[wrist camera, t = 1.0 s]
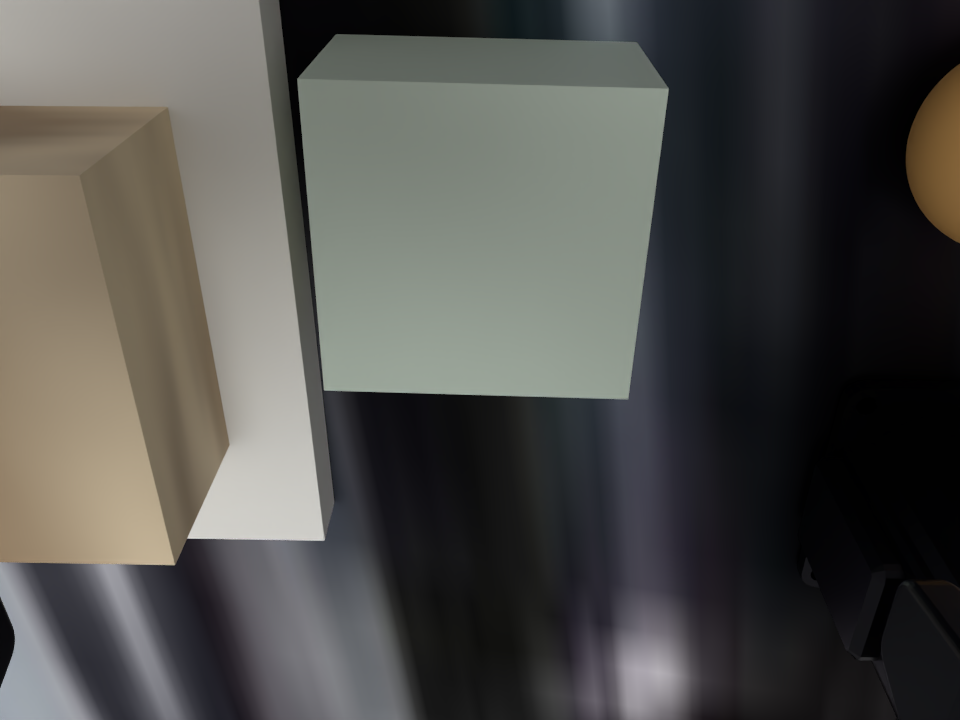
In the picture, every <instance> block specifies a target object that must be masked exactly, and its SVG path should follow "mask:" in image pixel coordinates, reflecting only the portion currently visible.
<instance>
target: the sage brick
mask: <svg viewBox="0 0 960 720" xmlns="http://www.w3.org/2000/svg"><path fill="white" fill-rule="evenodd" d="M297 83H298V95H299V107H300V118H301V130H302V141H303V153H304V164H305V176H306V188H307V199H308V211H309V222H310V234H311V246H312V257H313V269H314V280H315V292H316V303H317V315H318V327H319V338H320V350H321V361H322V373H323V385H324V390H326V391H360V392H394V393H429V394H463V395H497V396H531V397H566V398H600V399H628V396H629V389H630V381H631V373H632V366H633V358H634V350H635V343H636V335H637V328H638V320H639V312H640V305H641V297H642V289H643V282H644V274H645V267H646V259H647V251H648V244H649V236H650V228H651V221H652V213H653V206H654V198H655V190H656V183H657V175H658V167H659V160H660V152H661V145H662V137H663V129H664V122H665V114H666V106H667V99H668V91H669V88H668V87H667V85H666V84H665V82H664V81H663V80H662V78H661V77H660V75H659V74H658V72H657V71H656V69H655V68H654V66H653V65H652V63H651V62H650V61H649V59H648V58H647V56H646V55H645V53H644V52H643V50H642V49H641V47H640V46H639V44H638V43H637V42H615V41H577V40H539V39H501V38H463V37H424V36H386V35H348V34H336V35H335V36H334V37H333V38H332V39H331V41H330V42H329V43H328V44H327V45H326V46H325V47H324V49H323V50H322V51H321V52H320V53H319V54H318V56H317V57H316V58H315V59H314V60H313V61H312V62H311V64H310V65H309V66H308V67H307V68H306V69H305V70H304V72H303V73H302V74H301V75H300V76H299V77H298V78H297Z"/></svg>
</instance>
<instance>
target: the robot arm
mask: <svg viewBox="0 0 960 720" xmlns="http://www.w3.org/2000/svg"><path fill="white" fill-rule="evenodd" d="M869 397H870V398H871V399H870V401H869V402H868V403H867V404H865V405H862V406H856V405H857V404H858V402H859V401H861V400H862V399H864V398H869ZM798 538H799V541H800V543H801V545H802V547H801V551H800V555H799V559H798V563H797V568H798V571H799V573H800V576H801V578H802V580H803V581H804V583H805V584H807V585H809V586H812V587H819V588H820V590H821V592H822V595H823V597H824V599H825V602H826V604H827V606H828V609H829V611H830V613H831V616H832V618H833V620H834V623H835V625H836V627H837V630H838V632H839V634H840V637H841V639H842V641H843V644H844V646H845V648H846V650H847V651H848V652H849V653H850V654H851V655H852V656H853V657H854V658H855V659H856V660H871V662H872V664H873V666H874V668H875V670H876V673H877V675H878V677H879V679H880V681H881V684H882V686H883V688H884V690H885V692H886V695H887V697H888V699H889V701H890V703H891V706H892V708H893V710H894V712H895V715H896V717H897V719H896V720H960V381H908V380H862V381H857V382H855V383H852V384H850V385H849V386H848V387H847V388H846V389H845V390H844V391H843V393H842V395H841V397H840V400H839V404H838V408H837V412H836V416H835V419H834V423H833V427H832V431H831V435H830V439H829V443H828V447H827V450H826V454H825V456H824V457H822V458H821V459H820V460H819V461H818V462H817V463H816V464H815V467H814V471H813V475H812V479H811V483H810V487H809V491H808V495H807V499H806V503H805V507H804V511H803V515H802V519H801V523H800V527H799V531H798ZM14 644H15V636H14V629H13V626H12V624H11V621H10V619H9V617H8V614H7V612H6V610H5V607H4V605H3V602H2V600H1V598H0V687H1V684H2V682H3V679H4V676H5V674H6V671H7V668H8V665H9V663H10V660H11V657H12V654H13V650H14Z"/></svg>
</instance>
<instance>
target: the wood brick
mask: <svg viewBox="0 0 960 720" xmlns="http://www.w3.org/2000/svg"><path fill="white" fill-rule="evenodd" d="M229 445H230V444H229V439H228V433H227V428H226V422H225V417H224V411H223V406H222V400H221V395H220V390H219V384H218V379H217V373H216V368H215V362H214V357H213V351H212V346H211V340H210V335H209V329H208V324H207V319H206V313H205V308H204V302H203V297H202V291H201V286H200V280H199V275H198V269H197V264H196V258H195V253H194V248H193V242H192V237H191V231H190V226H189V220H188V215H187V209H186V204H185V198H184V193H183V187H182V182H181V177H180V171H179V166H178V160H177V155H176V149H175V144H174V138H173V133H172V127H171V122H170V116H169V111H168V107H109V106H0V562H26V563H85V564H144V565H175V564H176V562H177V559H178V557H179V555H180V553H181V551H182V548H183V546H184V544H185V542H186V540H187V537H188V535H189V533H190V531H191V529H192V526H193V524H194V522H195V520H196V518H197V516H198V513H199V511H200V509H201V507H202V505H203V502H204V500H205V498H206V496H207V494H208V491H209V489H210V487H211V485H212V483H213V480H214V478H215V476H216V474H217V472H218V469H219V467H220V465H221V463H222V461H223V458H224V456H225V454H226V452H227V450H228V448H229Z"/></svg>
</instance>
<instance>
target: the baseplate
mask: <svg viewBox="0 0 960 720" xmlns="http://www.w3.org/2000/svg"><path fill="white" fill-rule="evenodd" d="M0 106H109V107H168V111H169V116H170V122H171V127H172V133H173V138H174V144H175V149H176V155H177V160H178V166H179V171H180V177H181V182H182V187H183V193H184V198H185V204H186V209H187V215H188V220H189V226H190V231H191V237H192V242H193V248H194V253H195V258H196V264H197V269H198V275H199V280H200V286H201V291H202V297H203V302H204V308H205V313H206V319H207V324H208V329H209V335H210V340H211V346H212V351H213V357H214V362H215V368H216V373H217V379H218V384H219V390H220V395H221V400H222V406H223V411H224V417H225V422H226V428H227V433H228V439H229V444H230V445H229V448H228V450H227V452H226V454H225V456H224V458H223V461H222V463H221V465H220V467H219V469H218V472H217V474H216V476H215V478H214V480H213V483H212V485H211V487H210V489H209V491H208V494H207V496H206V498H205V500H204V502H203V505H202V507H201V509H200V511H199V513H198V516H197V518H196V520H195V522H194V524H193V526H192V529H191V531H190V533H189V535H188V537H187V538H192V539H253V540H313V541H325V537H326V533H327V529H328V525H329V521H330V518H331V514H332V510H333V506H334V494H333V485H332V476H331V467H330V458H329V449H328V440H327V431H326V422H325V413H324V404H323V395H322V386H321V377H320V368H319V359H318V350H317V341H316V332H315V323H314V314H313V305H312V295H311V286H310V277H309V268H308V259H307V250H306V241H305V232H304V223H303V214H302V205H301V196H300V187H299V178H298V169H297V160H296V151H295V142H294V133H293V124H292V115H291V106H290V97H289V88H288V78H287V69H286V60H285V51H284V42H283V33H282V24H281V15H280V6H279V0H0Z"/></svg>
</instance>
